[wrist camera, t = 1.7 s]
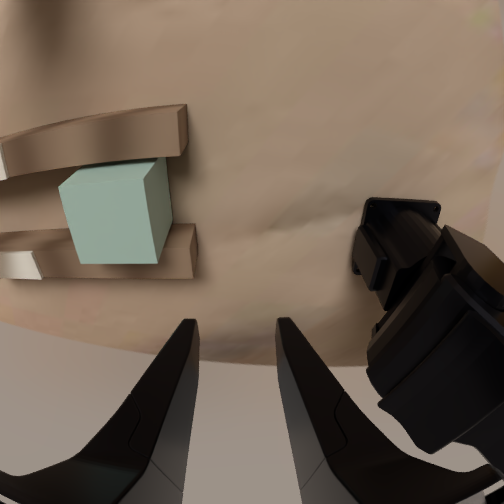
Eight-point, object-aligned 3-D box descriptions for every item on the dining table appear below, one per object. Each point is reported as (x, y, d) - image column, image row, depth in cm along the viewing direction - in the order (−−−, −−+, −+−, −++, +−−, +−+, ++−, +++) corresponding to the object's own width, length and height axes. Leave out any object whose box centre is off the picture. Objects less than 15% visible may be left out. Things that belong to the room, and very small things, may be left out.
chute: (186, 103, 17) (175, 112, 14) (197, 252, 23) (192, 281, 20) (-36, 150, 16) (-61, 165, 13) (-3, 255, 22) (-20, 276, 19)
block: (165, 149, 18) (143, 178, 14) (172, 219, 21) (157, 263, 17) (94, 156, 18) (58, 187, 14) (107, 222, 21) (80, 263, 17)
